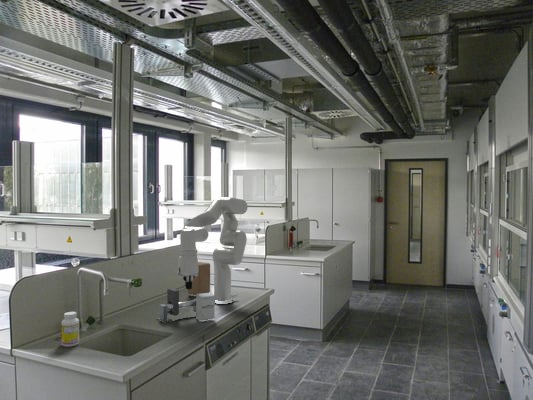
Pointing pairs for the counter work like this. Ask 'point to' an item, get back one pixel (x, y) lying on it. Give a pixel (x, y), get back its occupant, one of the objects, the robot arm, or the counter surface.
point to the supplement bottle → (70, 330)
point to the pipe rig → (170, 307)
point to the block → (201, 280)
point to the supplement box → (205, 306)
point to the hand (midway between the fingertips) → (188, 288)
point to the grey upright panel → (173, 301)
